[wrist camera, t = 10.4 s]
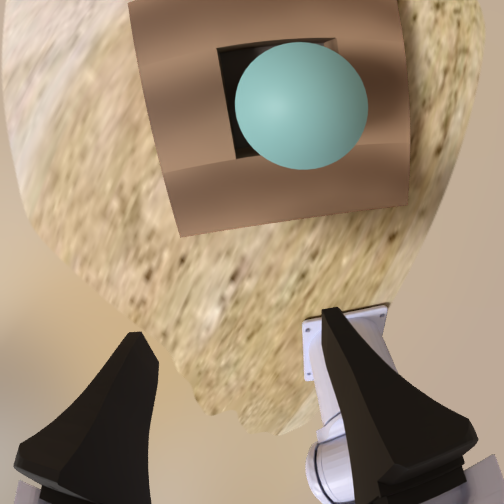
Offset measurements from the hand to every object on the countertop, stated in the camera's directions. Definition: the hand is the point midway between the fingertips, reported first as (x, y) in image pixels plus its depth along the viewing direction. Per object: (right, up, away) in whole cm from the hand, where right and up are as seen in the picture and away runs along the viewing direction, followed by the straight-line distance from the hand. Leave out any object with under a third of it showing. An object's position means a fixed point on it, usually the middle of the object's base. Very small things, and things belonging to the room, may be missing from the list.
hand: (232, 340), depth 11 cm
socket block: (+2, +13, +4) cm, 14 cm away
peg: (+2, +12, +4) cm, 13 cm away
